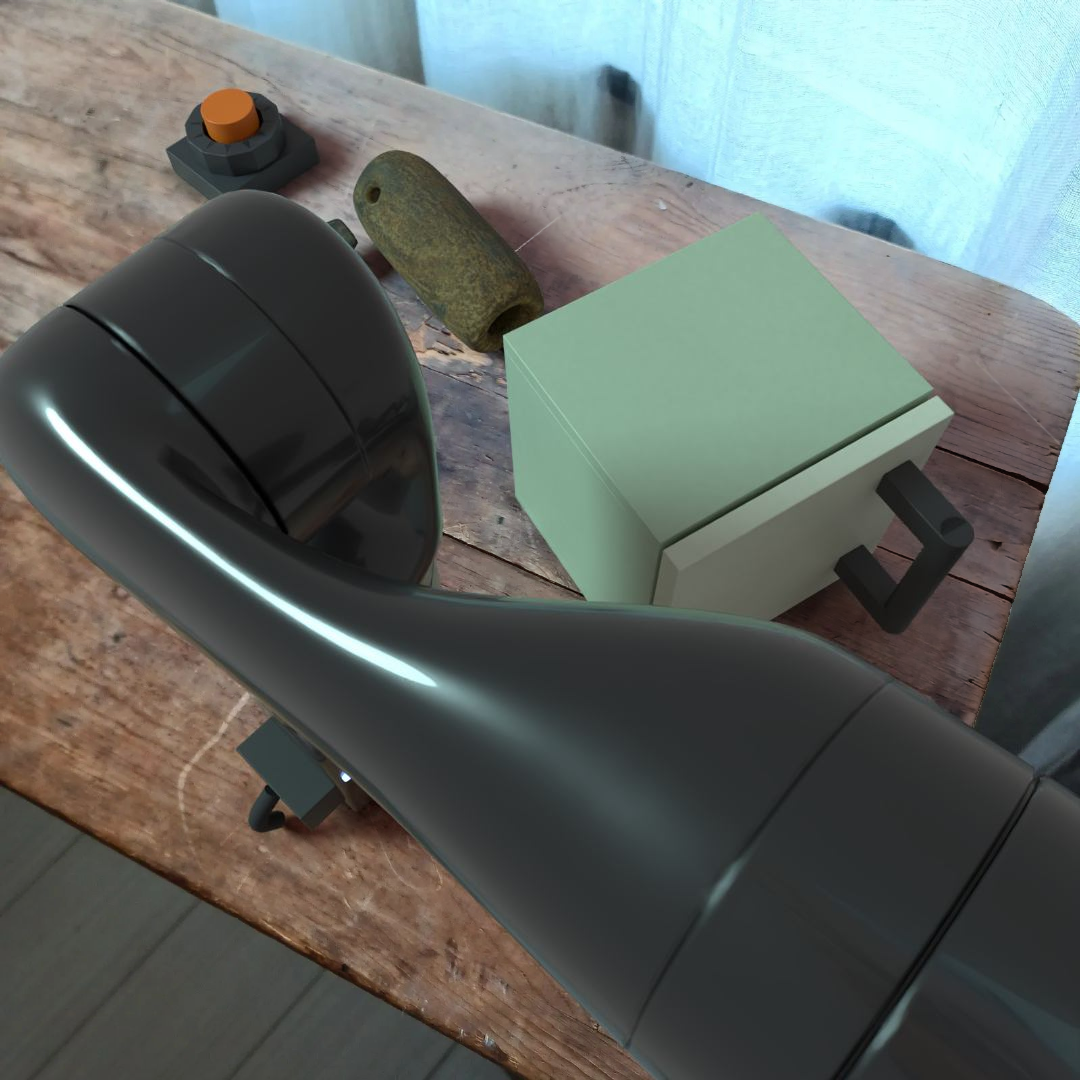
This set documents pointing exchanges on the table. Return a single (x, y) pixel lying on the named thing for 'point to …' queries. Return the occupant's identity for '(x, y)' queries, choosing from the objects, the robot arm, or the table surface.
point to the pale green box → (688, 400)
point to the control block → (243, 154)
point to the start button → (230, 116)
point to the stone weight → (446, 250)
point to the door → (828, 533)
